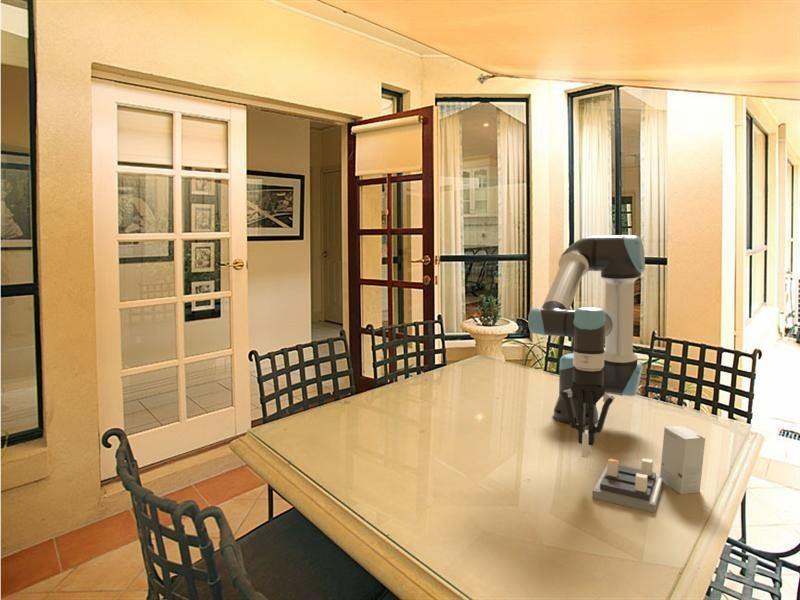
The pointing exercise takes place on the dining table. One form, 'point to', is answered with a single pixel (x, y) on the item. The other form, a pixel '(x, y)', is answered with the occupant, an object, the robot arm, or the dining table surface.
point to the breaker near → (641, 482)
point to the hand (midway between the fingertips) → (585, 455)
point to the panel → (628, 499)
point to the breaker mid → (612, 467)
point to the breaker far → (646, 466)
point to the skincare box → (682, 459)
